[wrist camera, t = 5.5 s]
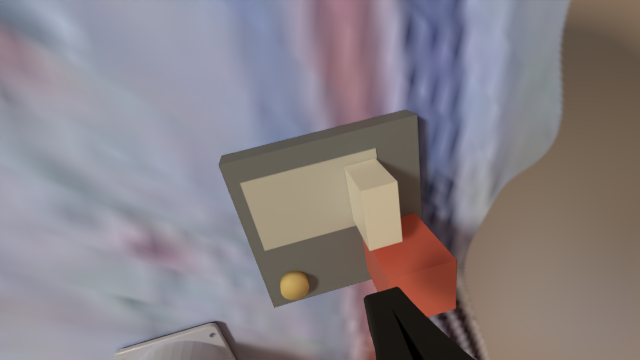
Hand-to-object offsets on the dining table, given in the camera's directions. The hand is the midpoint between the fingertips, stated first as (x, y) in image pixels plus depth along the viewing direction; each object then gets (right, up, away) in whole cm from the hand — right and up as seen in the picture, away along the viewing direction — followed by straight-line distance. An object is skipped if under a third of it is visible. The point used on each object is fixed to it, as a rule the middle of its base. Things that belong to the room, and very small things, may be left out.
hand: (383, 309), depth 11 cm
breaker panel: (-2, +3, +10) cm, 11 cm away
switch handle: (0, +4, +8) cm, 9 cm away
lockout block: (+3, 0, +10) cm, 11 cm away
